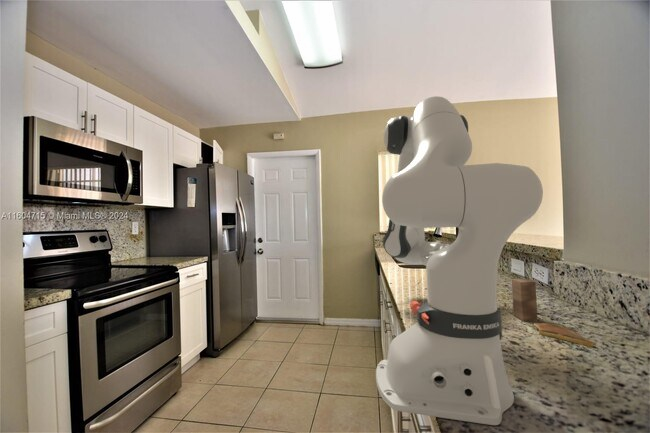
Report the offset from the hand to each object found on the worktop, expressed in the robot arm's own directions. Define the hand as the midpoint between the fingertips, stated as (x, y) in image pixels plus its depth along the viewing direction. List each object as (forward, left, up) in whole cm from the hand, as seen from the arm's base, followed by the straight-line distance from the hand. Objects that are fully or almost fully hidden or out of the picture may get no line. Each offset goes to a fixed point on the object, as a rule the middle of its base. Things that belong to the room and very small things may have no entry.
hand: (476, 257), depth 86 cm
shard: (+11, -19, -17) cm, 28 cm away
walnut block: (+9, -8, -17) cm, 21 cm away
